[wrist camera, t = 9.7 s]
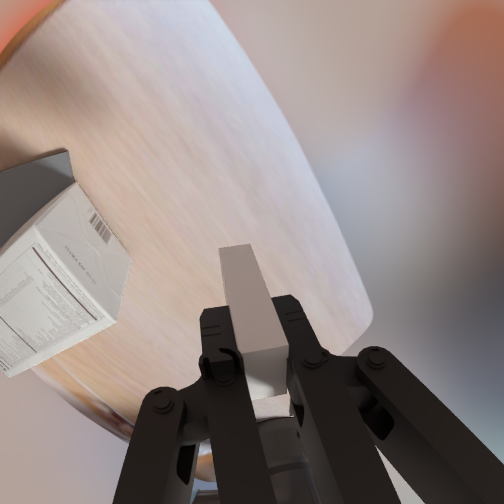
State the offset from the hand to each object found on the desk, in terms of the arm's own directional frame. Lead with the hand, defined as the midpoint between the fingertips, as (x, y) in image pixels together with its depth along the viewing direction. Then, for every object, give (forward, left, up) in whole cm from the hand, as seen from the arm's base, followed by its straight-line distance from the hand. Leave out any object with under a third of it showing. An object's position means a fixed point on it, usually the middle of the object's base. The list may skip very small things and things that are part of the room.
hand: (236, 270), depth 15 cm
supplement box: (-1, +10, -8) cm, 13 cm away
